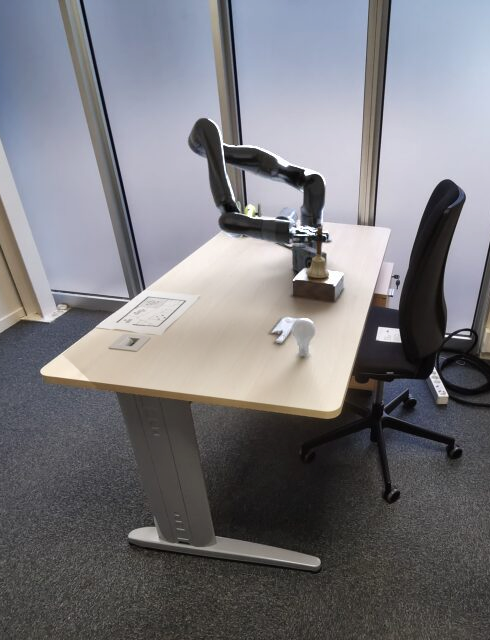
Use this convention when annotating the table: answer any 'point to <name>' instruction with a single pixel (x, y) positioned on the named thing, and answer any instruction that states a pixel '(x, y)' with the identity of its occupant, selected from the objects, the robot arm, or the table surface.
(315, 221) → the robot arm
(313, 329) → the lightbulb
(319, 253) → the hand bell
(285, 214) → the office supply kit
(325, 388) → the table surface
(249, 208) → the cannon
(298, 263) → the camera
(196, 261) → the table surface
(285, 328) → the white cleaver
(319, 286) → the block
